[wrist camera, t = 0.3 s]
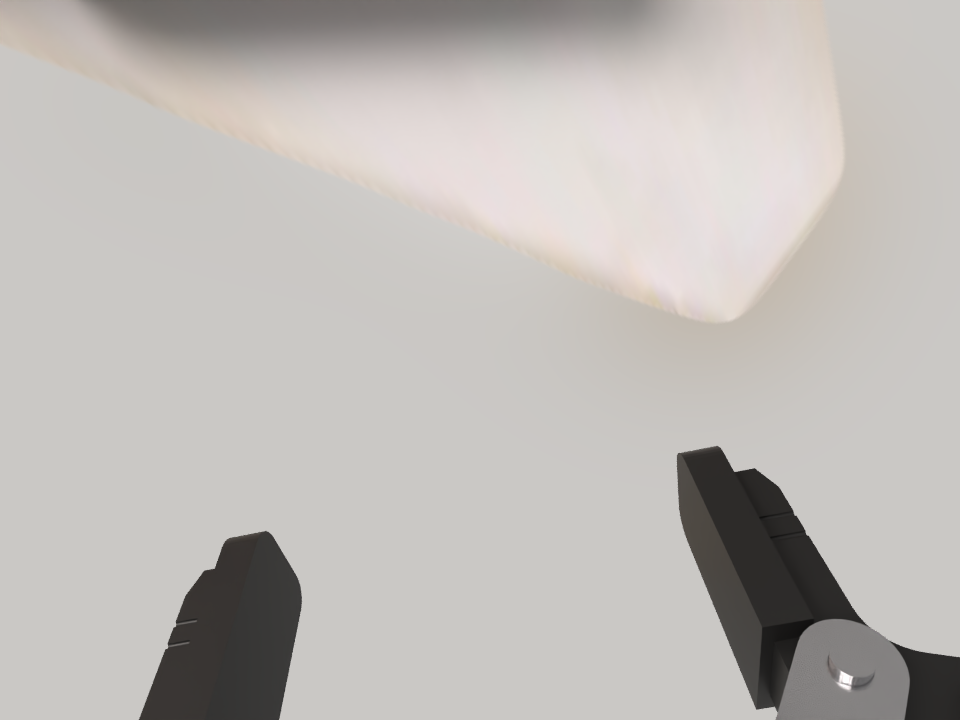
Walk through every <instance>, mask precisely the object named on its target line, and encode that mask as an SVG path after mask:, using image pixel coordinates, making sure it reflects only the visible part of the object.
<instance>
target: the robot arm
mask: <svg viewBox="0 0 960 720" xmlns="http://www.w3.org/2000/svg"><path fill="white" fill-rule="evenodd" d="M677 472H678V494H679V510H680V516H681V521H682V525H683V529H684V532H685V535H686V538H687V541H688V543H689V546H690V548H691V551H692V553H693V556H694V558H695V561H696V563H697V565H698V568H699V570H700V573H701V575H702V578H703V580H704V583H705V585H706V587H707V590H708V592H709V595H710V597H711V600H712V602H713V605H714V607H715V609H716V612H717V614H718V617H719V619H720V622H721V624H722V626H723V629H724V631H725V634H726V636H727V639H728V641H729V644H730V646H731V649H732V651H733V653H734V656H735V658H736V661H737V663H738V666H739V668H740V671H741V673H742V675H743V678H744V680H745V683H746V685H747V688H748V690H749V693H750V695H751V698H752V700H753V702H754V705H755V707H756V709H763V708H769V707H775V708H776V710H777V712H778V714H777V717H776V720H960V657H952V656H945V655H938V654H931V653H925V652H919V651H915V650H911V649H908V648H905V647H902V646H900V645H897V644H895V643H893V642H891V641H889V640H887V639H886V638H885V637H884V636H882V635H881V634H880V633H878V632H877V631H875V630H873V629H871V628H870V627H869V626H868V625H866V624H865V623H864V622H863V620H862V619H861V618H860V617H859V616H858V615H857V613H856V612H855V610H854V609H853V608H852V606H851V604H850V603H849V601H848V599H847V598H846V596H845V595H844V593H843V592H842V590H841V588H840V587H839V585H838V583H837V581H836V580H835V578H834V577H833V575H832V573H831V572H830V570H829V568H828V567H827V565H826V564H825V562H824V560H823V558H822V557H821V555H820V554H819V552H818V550H817V549H816V547H815V545H814V544H813V542H812V541H811V539H810V537H809V536H807V535H806V533H805V530H804V527H803V526H802V524H801V523H800V521H799V519H798V518H797V516H795V515H794V512H793V510H792V508H791V506H790V505H789V503H788V501H787V500H786V498H785V496H784V495H783V493H782V491H781V490H780V488H779V487H778V486H777V485H776V484H774V483H773V482H772V481H770V480H769V479H768V478H766V477H765V476H764V475H763V474H761V473H760V472H759V471H757V470H756V469H755V468H754V469H749V470H744V471H738V472H734V471H733V469H732V467H731V466H730V464H729V462H728V460H727V458H726V456H725V454H724V453H723V451H722V450H721V448H720V447H718V446H715V447H710V448H704V449H699V450H694V451H689V452H684V453H678V455H677ZM301 604H302V596H301V588H300V584H299V581H298V578H297V576H296V574H295V573H294V571H293V569H292V568H291V566H290V564H289V563H288V561H287V559H286V558H285V556H284V554H283V553H282V551H281V549H280V548H279V546H278V544H277V543H276V541H275V539H274V537H273V536H272V535H271V534H270V533H269V532H267V531H265V532H259V533H254V534H249V535H244V536H239V537H233V538H229V539H227V540H226V541H225V543H224V544H223V547H222V549H221V553H220V555H219V558H218V561H217V564H216V567H215V569H211V570H206V571H204V572H203V573H202V575H201V576H200V577H199V579H198V580H197V581H196V583H195V584H194V586H193V587H192V588H191V589H190V591H189V592H188V594H187V595H186V596H185V599H184V601H183V604H182V607H181V609H180V613H179V615H178V617H177V620H176V627H174V628H173V631H172V633H171V636H170V639H169V642H168V649H166V650H165V652H164V655H163V657H162V660H161V663H160V665H159V668H158V671H157V673H156V676H155V679H154V681H153V684H152V687H151V690H150V692H149V695H148V697H147V700H146V703H145V706H144V708H143V711H142V713H141V716H140V719H139V720H279V717H280V712H281V707H282V702H283V697H284V692H285V687H286V682H287V677H288V672H289V667H290V661H291V657H292V652H293V647H294V642H295V637H296V632H297V627H298V622H299V617H300V612H301Z"/></svg>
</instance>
